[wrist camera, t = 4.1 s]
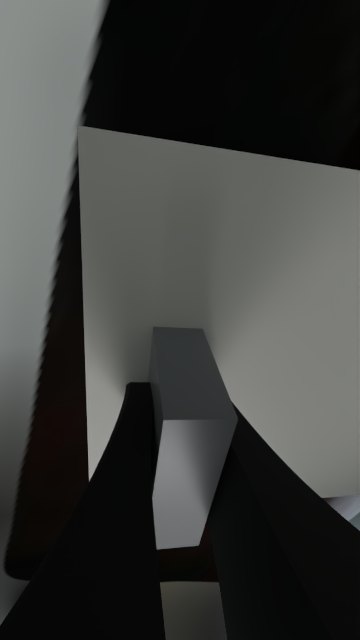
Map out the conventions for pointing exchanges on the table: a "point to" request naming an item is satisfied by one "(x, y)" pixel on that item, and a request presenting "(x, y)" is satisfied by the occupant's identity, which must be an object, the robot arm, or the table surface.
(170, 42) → the table surface
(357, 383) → the carton lid
